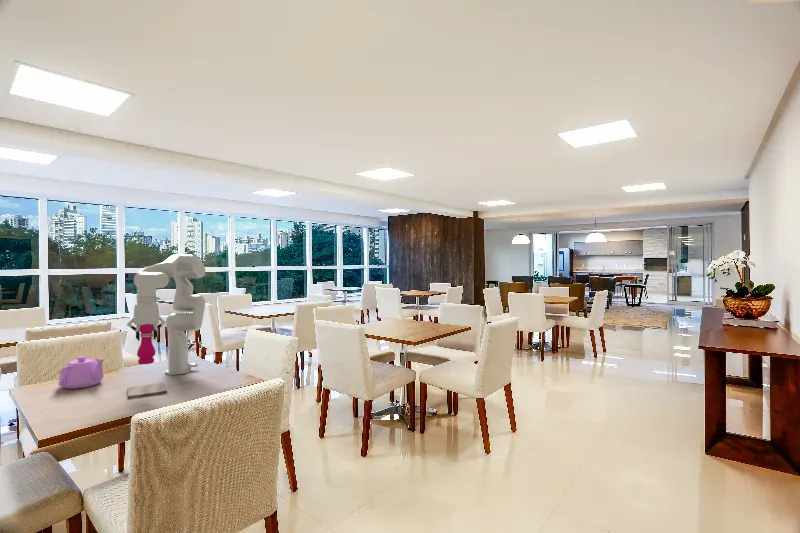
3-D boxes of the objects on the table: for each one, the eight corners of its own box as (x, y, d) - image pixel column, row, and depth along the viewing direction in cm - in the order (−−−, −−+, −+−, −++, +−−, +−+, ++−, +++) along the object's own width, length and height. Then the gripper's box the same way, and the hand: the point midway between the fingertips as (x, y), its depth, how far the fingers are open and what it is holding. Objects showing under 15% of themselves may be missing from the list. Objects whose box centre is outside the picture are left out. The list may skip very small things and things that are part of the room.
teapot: (83, 394, 192) (83, 363, 192) (44, 391, 196) (43, 361, 196) (124, 380, 213) (124, 353, 213) (88, 378, 218) (87, 351, 217)
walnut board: (164, 384, 207) (164, 382, 207) (167, 393, 194) (167, 390, 194) (127, 390, 198) (127, 387, 198) (128, 399, 186) (128, 396, 186)
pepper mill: (141, 365, 190) (141, 320, 190) (134, 363, 195) (134, 319, 195) (158, 362, 196) (158, 319, 196) (151, 360, 200) (151, 317, 201)
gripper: (167, 298, 203) (167, 336, 204) (124, 300, 194) (124, 340, 194) (168, 300, 197) (168, 339, 197) (124, 301, 188) (124, 342, 188)
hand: (146, 339), depth 196 cm, fingers closed on pepper mill, 5 cm apart
